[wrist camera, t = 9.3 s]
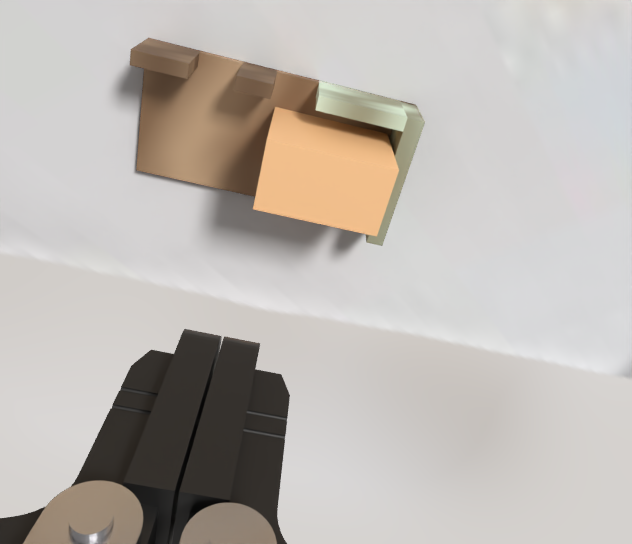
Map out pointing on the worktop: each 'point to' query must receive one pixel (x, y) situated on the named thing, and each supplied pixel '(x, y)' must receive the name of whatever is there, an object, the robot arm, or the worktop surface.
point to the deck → (246, 117)
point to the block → (326, 172)
